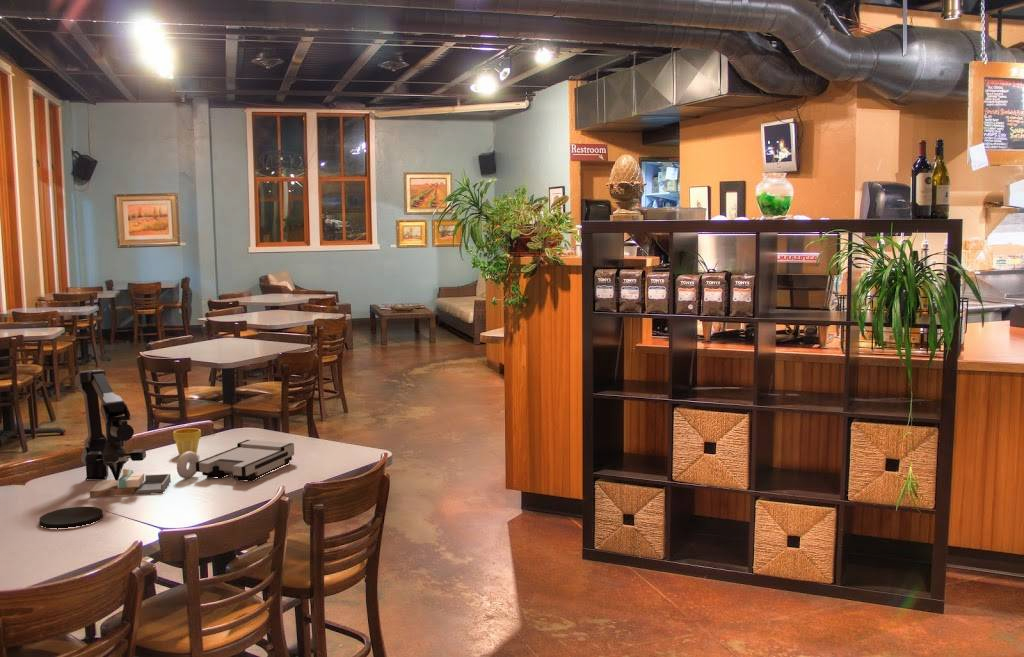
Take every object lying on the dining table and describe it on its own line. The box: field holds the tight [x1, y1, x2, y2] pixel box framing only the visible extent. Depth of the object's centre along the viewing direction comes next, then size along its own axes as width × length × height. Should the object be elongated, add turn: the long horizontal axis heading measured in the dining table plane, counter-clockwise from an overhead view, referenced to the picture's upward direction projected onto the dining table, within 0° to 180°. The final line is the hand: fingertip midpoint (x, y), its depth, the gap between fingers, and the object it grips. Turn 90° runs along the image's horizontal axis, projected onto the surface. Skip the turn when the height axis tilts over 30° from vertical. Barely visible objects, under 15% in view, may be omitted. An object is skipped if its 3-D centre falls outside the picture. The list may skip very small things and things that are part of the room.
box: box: [134, 473, 172, 495], centre depth 315 cm, size 9×14×3 cm, turn 11°
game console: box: [196, 439, 295, 482], centre depth 336 cm, size 21×32×8 cm, turn 162°
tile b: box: [130, 472, 145, 483], centre depth 316 cm, size 4×4×2 cm
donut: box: [176, 451, 200, 480], centre depth 327 cm, size 10×4×10 cm, turn 159°
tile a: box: [126, 477, 141, 487], centre depth 311 cm, size 4×4×2 cm
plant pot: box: [172, 427, 202, 457], centre depth 362 cm, size 10×10×10 cm
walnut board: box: [89, 478, 143, 498], centre depth 313 cm, size 14×14×2 cm
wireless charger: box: [38, 506, 104, 529], centre depth 280 cm, size 18×18×2 cm
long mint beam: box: [119, 468, 134, 488], centre depth 313 cm, size 2×12×5 cm, turn 11°
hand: (117, 480), depth 312 cm, fingers closed
